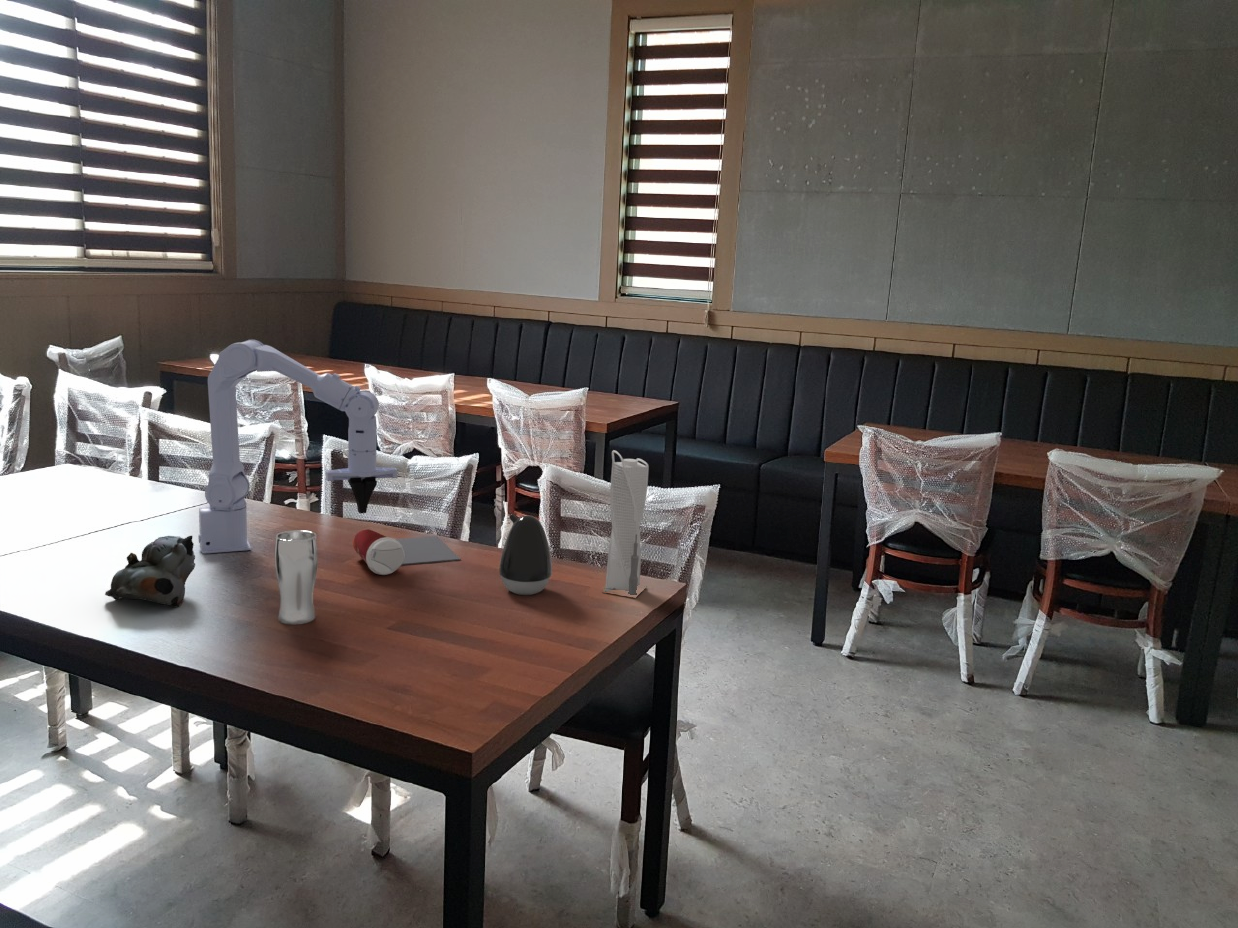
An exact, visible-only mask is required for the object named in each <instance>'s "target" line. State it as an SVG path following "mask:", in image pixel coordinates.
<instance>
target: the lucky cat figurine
mask: <svg viewBox="0 0 1238 928" xmlns="http://www.w3.org/2000/svg"><path fill="white" fill-rule="evenodd" d="M194 546H195V545H194V541H193V535H188V536H186V537H184V538H183V537H181V536H175V535H166V536H165V535H164V536H160V537H159V536H158V537H157V538H156V539H154V541H152V542H149V543H148V544H147V545H145V547H144V548H143V550H142V552H141V560H139V557H138V556H137V554H136V553H133V552H130V553H129V554H128V555H127V556H126V561H127V563H128V564H127V565H125V567H124V568H122V569H119V570H118V571H116V573H115V574H114V575H113V576H112V579H111V582H110V588H109V589H107V590H106V591H105V593H104V596H107V597H111V598H112V599H113V600H115V601H116V600H118V599H131V600H142V601H143V600H144V601H148V602H152V603H157V604H161V605H168V606H171V607H174V608H178V607H180V606H181V605H182V604H183V602H184V599H185V596H186V595H185V594H186V586H185V585H186V582H187V580H188V578H189V576H190V575H191V573H192V572H193V571H194V569H195V567H196V563H195V559H196V555H195V551H194Z"/></svg>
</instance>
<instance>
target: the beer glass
mask: <svg viewBox="0 0 1238 928" xmlns="http://www.w3.org/2000/svg"><path fill="white" fill-rule="evenodd" d="M274 547H275V548H274V569H275V575H276V581H277V585H278V590H279V595H280V597H279V598H280V601H279V602H280V603H279V605H280V606H279V611H278V617H277V618H278V619H277V620H278V621H279V622H280V623H282V624H285V625H292V626H297V625H304V624H308V623H311V622H313V621H314V620H315V619H316V613H315V607H314V598H313V597H314V589H315V583H316V577H317V572H318V565H319V563H318V561H319V560H318V559H319V557H318V554H319V553H318V541H317V534H316V533H315V532H313V531H310V530H302V529H295V530H285V531H281V532H279V533H277V534H276V535H275V546H274Z"/></svg>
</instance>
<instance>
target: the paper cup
mask: <svg viewBox="0 0 1238 928" xmlns="http://www.w3.org/2000/svg"><path fill="white" fill-rule="evenodd" d="M396 539H397V538H394V537H390V536H389V537H388V536H386V535H384V534H381V533H380V532H377V531H375V530H372V529H367V528H366V529H362V530H359V531H358V532H357V533H356V534H355V536H354V537H353V539H352V547H353V549H354V551H355V553H356V554H357V555H358V556H359V557H360V558H361V559H362V560H363V561H364V562H365V563H366V564H367V567H368V569H369V570H370V571H371V572H373V573H374V574H377V575H381V576H385V575H390V574H392V573H394V572H396V571H397V570H398V569H399V568H400V567H401V566H403V565H402V563H403V561H404V555H405V554H404V550H403V547H402V545H401V544H400V543H399V542H398V541H397V540H396Z"/></svg>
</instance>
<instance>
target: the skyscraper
mask: <svg viewBox="0 0 1238 928" xmlns="http://www.w3.org/2000/svg"><path fill="white" fill-rule="evenodd" d="M615 454H616V455H618V457H619V459H620V461H615ZM611 460H612V463H611V473H610V474H611V475H610V489H609V491H610V492H609V493H610V495H609V506H610V507H609V508H610V520H611V534H610V538H609V539H610V540H609V546H608V554H607V564H606V565H607V566H606V577H605V588H604V589H603V590H601V592H602V591H605V592H610V591H611V590H625V591H629V592H628V594H630V595H637V593H636V590H637V586H638V585H640V583H641V582H640V580H641V566H642V565H641V561H642V560H641V559H642V547H641V544H642V543H641V542H642V541H641V540H642V539H641V527H640V525H641V523H642V522H641V521H642V519H643V515H644V511H645V505H646V501H647V493H648V483H649V466H650V465H649V463H648V462H646V461H645V460H643V459H642V458H638V457H637V458H636V459H634V458H623V456H622V455H621V454H620V453H619V452H618V451H617V450H614V449H613V450H612V451H611ZM643 586H644V587H645V586H646V585H643ZM646 587H647V588H648V586H646ZM613 593H615V592H613Z"/></svg>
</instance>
